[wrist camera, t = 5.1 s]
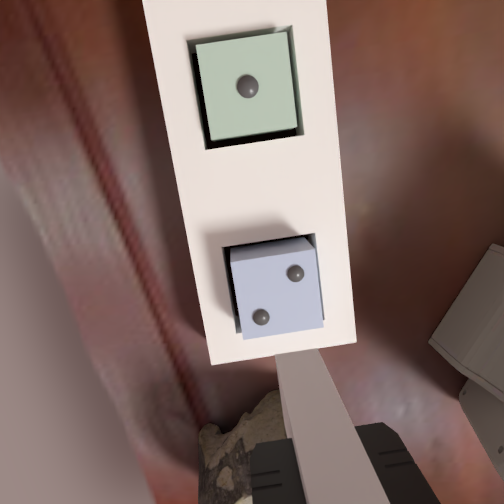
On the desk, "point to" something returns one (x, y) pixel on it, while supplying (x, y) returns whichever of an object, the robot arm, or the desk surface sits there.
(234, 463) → the grey rock
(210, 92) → the tile one
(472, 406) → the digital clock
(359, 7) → the desk surface
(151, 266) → the desk surface
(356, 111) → the desk surface
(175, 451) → the desk surface
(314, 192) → the tile panel
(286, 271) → the tile two
